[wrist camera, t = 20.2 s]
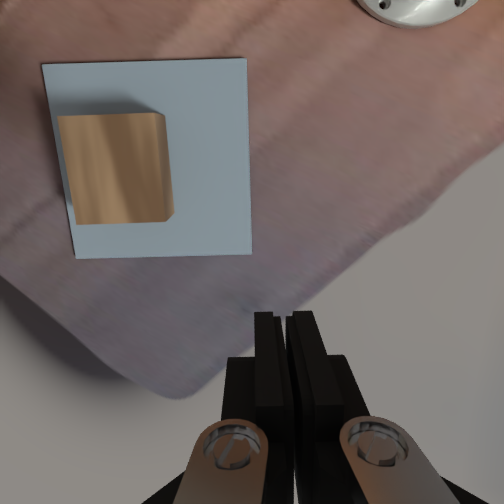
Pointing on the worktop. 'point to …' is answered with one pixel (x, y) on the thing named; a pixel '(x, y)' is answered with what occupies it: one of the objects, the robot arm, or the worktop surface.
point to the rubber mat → (180, 151)
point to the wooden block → (118, 167)
